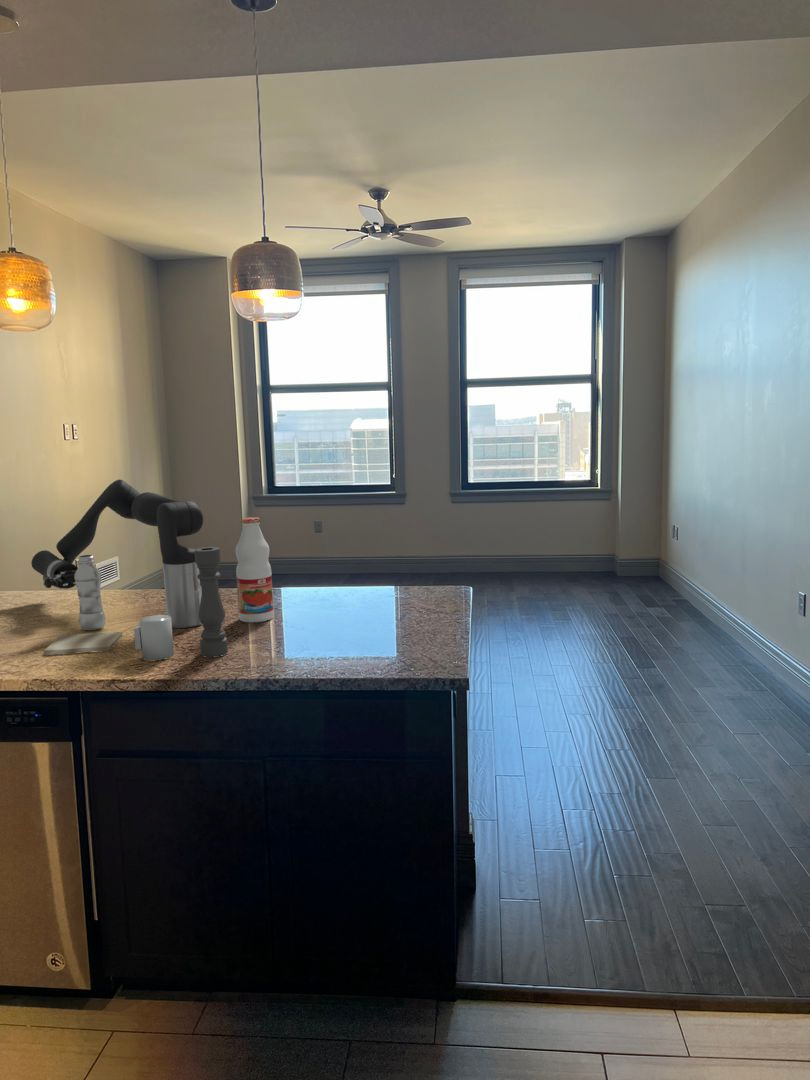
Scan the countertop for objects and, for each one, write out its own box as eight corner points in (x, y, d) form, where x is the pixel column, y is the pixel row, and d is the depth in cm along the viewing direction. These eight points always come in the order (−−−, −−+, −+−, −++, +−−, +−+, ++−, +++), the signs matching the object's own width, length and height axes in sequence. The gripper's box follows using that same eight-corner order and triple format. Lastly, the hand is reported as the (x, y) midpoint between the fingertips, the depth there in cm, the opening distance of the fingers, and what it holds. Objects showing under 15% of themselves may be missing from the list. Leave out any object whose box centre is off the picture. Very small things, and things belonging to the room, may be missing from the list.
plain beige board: (122, 636, 194) (122, 631, 194) (109, 651, 181) (109, 646, 181) (61, 639, 192) (61, 635, 192) (44, 655, 179) (44, 650, 179)
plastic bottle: (97, 633, 197) (90, 558, 194) (74, 632, 198) (66, 558, 195) (111, 626, 203) (104, 553, 200) (89, 625, 205) (82, 553, 201)
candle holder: (217, 648, 181) (210, 545, 177) (233, 652, 177) (226, 548, 173) (195, 654, 177) (187, 549, 173) (211, 659, 173) (204, 552, 169)
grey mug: (176, 650, 180) (173, 614, 179) (171, 659, 173) (168, 621, 172) (140, 652, 179) (137, 616, 178) (134, 662, 172) (131, 624, 171)
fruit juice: (266, 612, 214) (260, 515, 209) (279, 619, 206) (273, 518, 201) (234, 617, 209) (228, 518, 204) (246, 625, 201) (239, 521, 196)
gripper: (35, 564, 216) (49, 572, 203) (87, 558, 224) (103, 565, 211) (38, 590, 217) (51, 600, 204) (89, 582, 225) (105, 591, 213)
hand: (78, 582), depth 208 cm, fingers open, 8 cm apart
